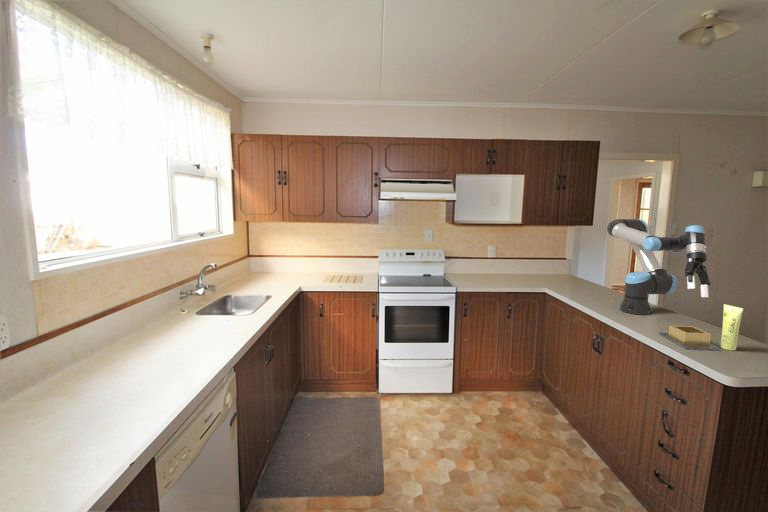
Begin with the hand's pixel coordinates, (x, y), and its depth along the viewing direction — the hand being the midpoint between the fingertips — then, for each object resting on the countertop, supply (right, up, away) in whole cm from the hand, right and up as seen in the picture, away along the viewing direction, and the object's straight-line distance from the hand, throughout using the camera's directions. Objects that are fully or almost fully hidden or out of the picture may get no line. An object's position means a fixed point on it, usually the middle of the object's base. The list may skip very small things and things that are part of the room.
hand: (698, 293), depth 172 cm
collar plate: (-15, -22, -11) cm, 29 cm away
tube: (-4, -23, -19) cm, 30 cm away
